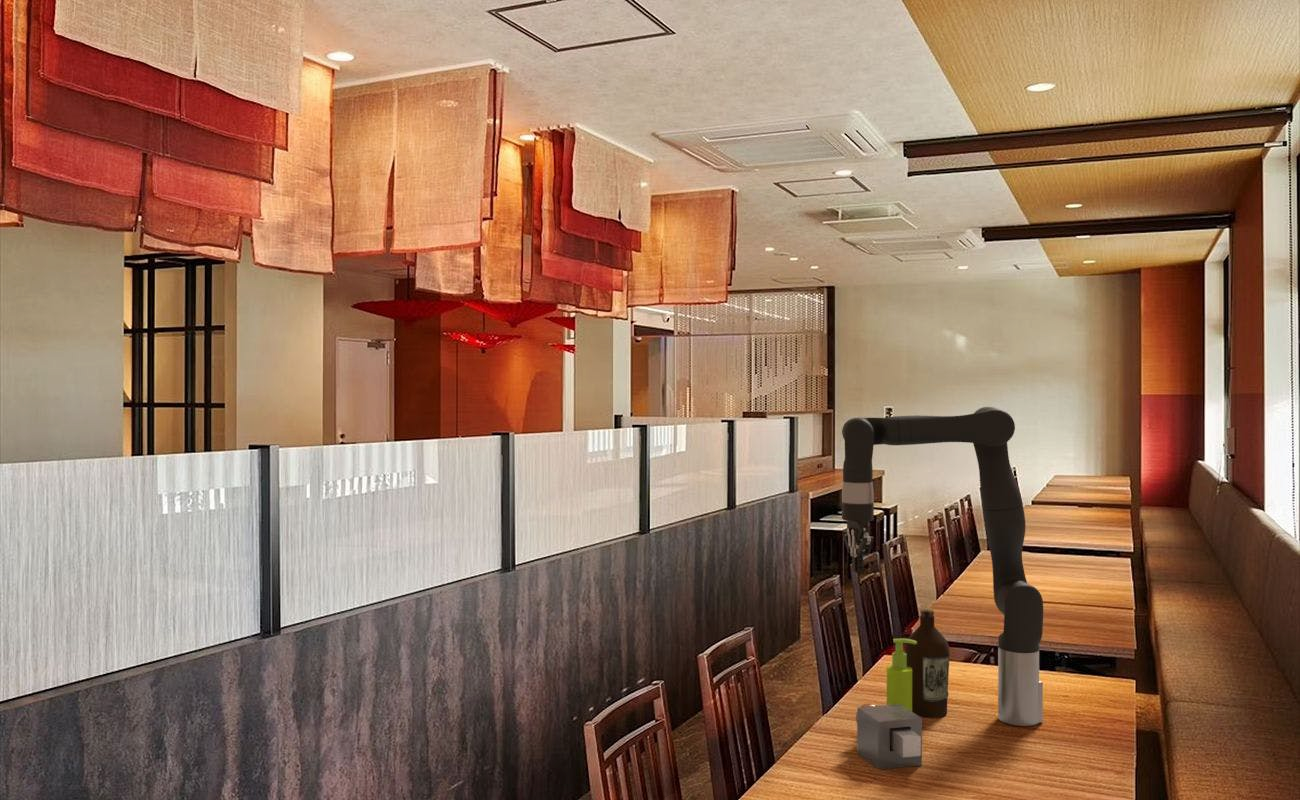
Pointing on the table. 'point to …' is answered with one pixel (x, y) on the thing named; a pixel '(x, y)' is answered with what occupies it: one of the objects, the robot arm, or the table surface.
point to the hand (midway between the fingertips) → (857, 572)
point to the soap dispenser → (900, 677)
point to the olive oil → (928, 668)
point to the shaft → (903, 740)
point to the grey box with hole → (885, 735)
